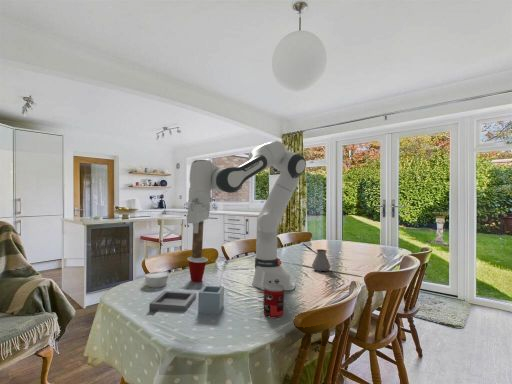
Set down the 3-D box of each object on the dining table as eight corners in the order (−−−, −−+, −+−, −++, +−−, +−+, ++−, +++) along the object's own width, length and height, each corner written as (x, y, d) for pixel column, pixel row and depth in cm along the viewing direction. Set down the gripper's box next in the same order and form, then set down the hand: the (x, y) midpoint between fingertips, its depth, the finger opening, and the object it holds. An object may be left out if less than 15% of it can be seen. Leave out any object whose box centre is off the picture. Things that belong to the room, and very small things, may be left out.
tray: (196, 299, 126) (196, 292, 126) (184, 313, 111) (185, 305, 111) (164, 297, 127) (164, 290, 127) (149, 311, 112) (149, 303, 112)
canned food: (262, 309, 117) (263, 283, 117) (281, 309, 117) (282, 283, 117) (264, 318, 109) (265, 289, 109) (284, 318, 110) (285, 289, 110)
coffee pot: (333, 270, 179) (334, 247, 179) (323, 274, 171) (324, 249, 171) (306, 263, 195) (307, 242, 195) (296, 266, 187) (296, 244, 187)
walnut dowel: (202, 256, 117) (204, 222, 117) (200, 258, 113) (202, 223, 113) (193, 255, 117) (195, 222, 117) (190, 257, 113) (192, 223, 113)
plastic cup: (202, 284, 145) (203, 261, 145) (183, 282, 148) (183, 259, 148) (210, 278, 156) (210, 256, 156) (191, 276, 158) (192, 255, 158)
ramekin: (160, 279, 151) (160, 270, 151) (172, 284, 144) (172, 274, 144) (140, 284, 143) (140, 274, 143) (152, 290, 136) (152, 279, 135)
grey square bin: (223, 308, 117) (224, 286, 117) (219, 316, 109) (219, 293, 109) (203, 306, 118) (204, 285, 118) (197, 315, 110) (198, 292, 110)
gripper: (200, 199, 105) (198, 236, 105) (212, 198, 125) (211, 229, 125) (183, 198, 105) (182, 235, 105) (198, 197, 125) (197, 228, 125)
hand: (198, 232), depth 115 cm, fingers closed on walnut dowel, 4 cm apart
